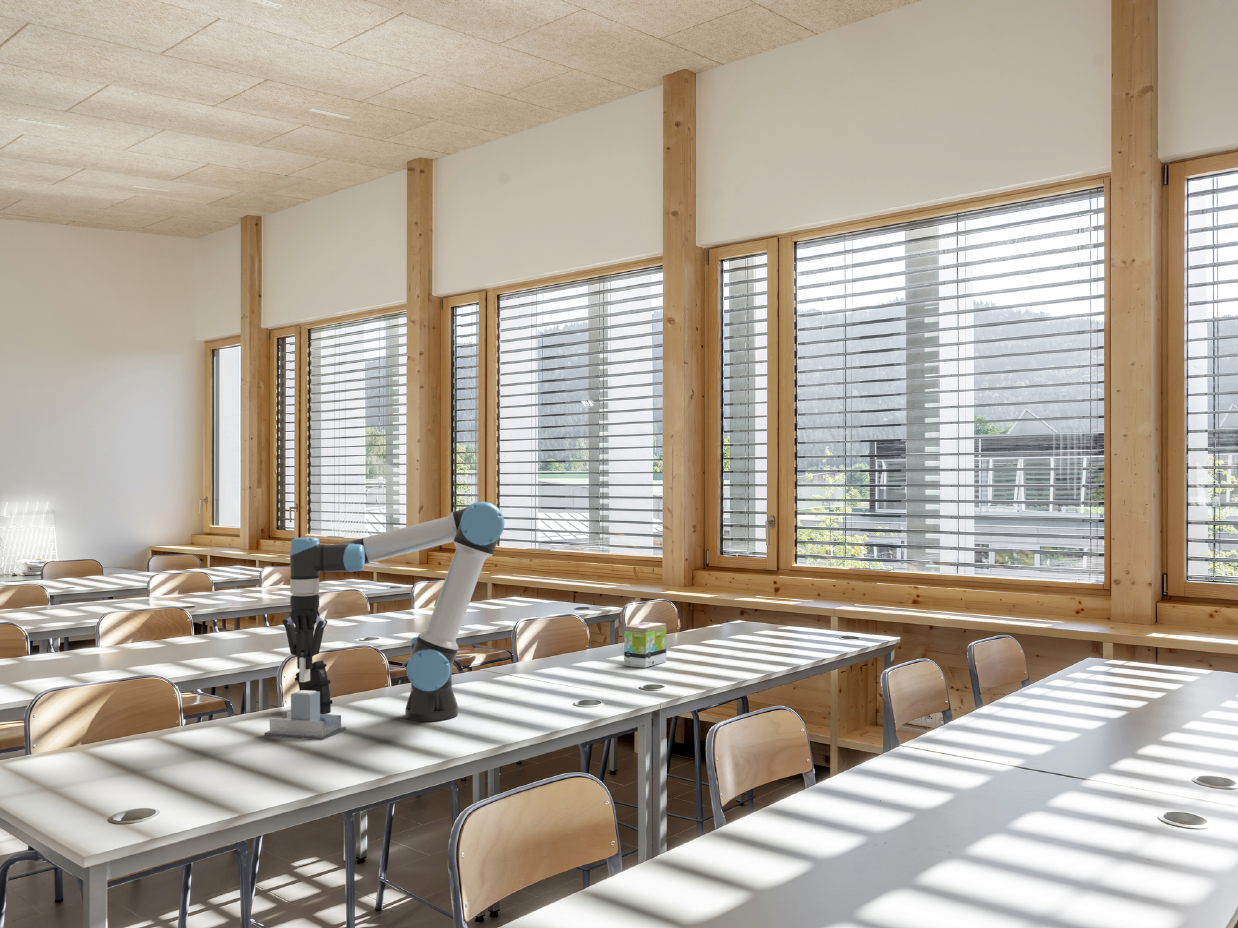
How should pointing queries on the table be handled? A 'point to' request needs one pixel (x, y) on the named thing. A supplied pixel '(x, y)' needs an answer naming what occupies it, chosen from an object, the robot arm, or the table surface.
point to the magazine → (318, 685)
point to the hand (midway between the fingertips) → (304, 680)
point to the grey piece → (306, 727)
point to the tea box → (644, 644)
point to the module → (305, 705)
